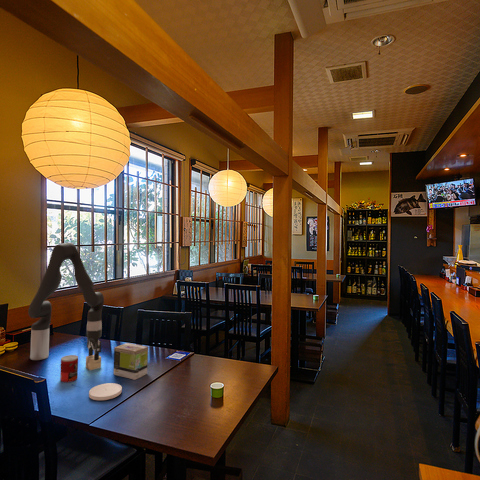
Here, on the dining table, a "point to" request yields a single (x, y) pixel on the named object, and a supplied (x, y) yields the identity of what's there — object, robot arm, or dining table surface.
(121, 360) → the tea box
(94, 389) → the plastic lid
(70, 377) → the canned food
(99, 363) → the block
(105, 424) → the dining table surface
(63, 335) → the dining table surface
